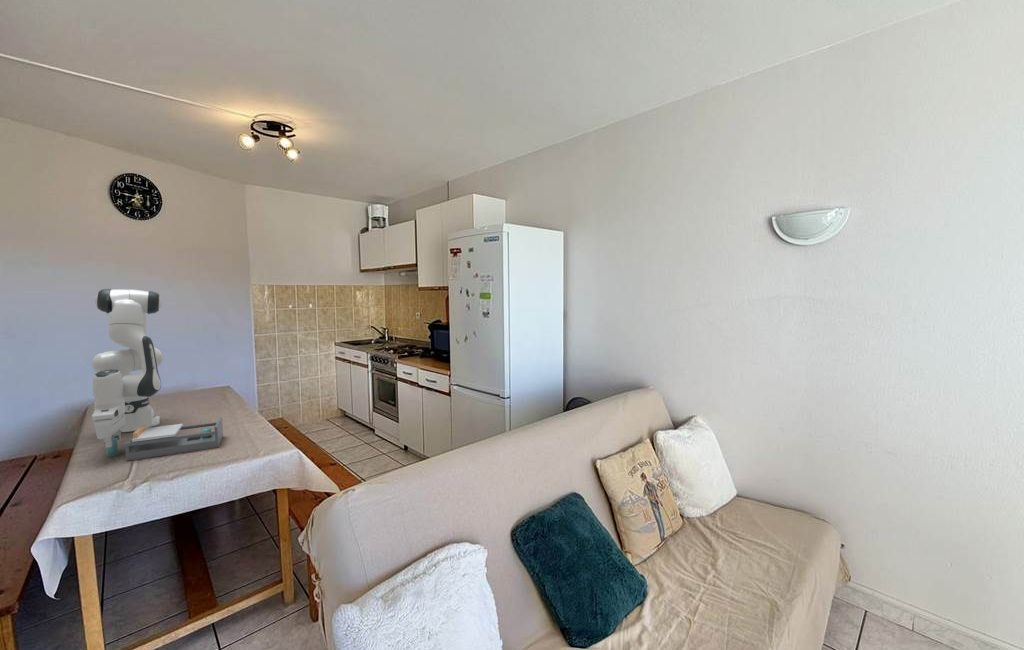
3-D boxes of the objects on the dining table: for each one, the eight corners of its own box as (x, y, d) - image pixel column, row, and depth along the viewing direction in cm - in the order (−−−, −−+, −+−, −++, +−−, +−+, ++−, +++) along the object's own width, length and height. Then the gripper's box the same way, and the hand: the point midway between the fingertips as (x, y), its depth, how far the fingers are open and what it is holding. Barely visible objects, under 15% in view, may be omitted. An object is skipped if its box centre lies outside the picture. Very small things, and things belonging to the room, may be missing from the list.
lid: (143, 430, 176) (143, 423, 176) (183, 425, 183) (182, 419, 183) (132, 442, 163) (131, 434, 163) (175, 436, 170) (174, 429, 170)
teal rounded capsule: (108, 454, 169) (106, 438, 169) (119, 452, 171) (118, 437, 171) (104, 457, 166) (103, 441, 166) (116, 455, 168) (115, 440, 167)
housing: (138, 448, 176) (136, 427, 175) (223, 436, 190) (222, 417, 190) (126, 460, 163) (124, 438, 162) (218, 447, 177) (217, 426, 176)
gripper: (109, 405, 175) (111, 437, 176) (89, 417, 157) (93, 452, 158) (128, 403, 178) (131, 434, 179) (112, 414, 160) (115, 449, 161)
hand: (113, 443), depth 168 cm, fingers open, 8 cm apart
